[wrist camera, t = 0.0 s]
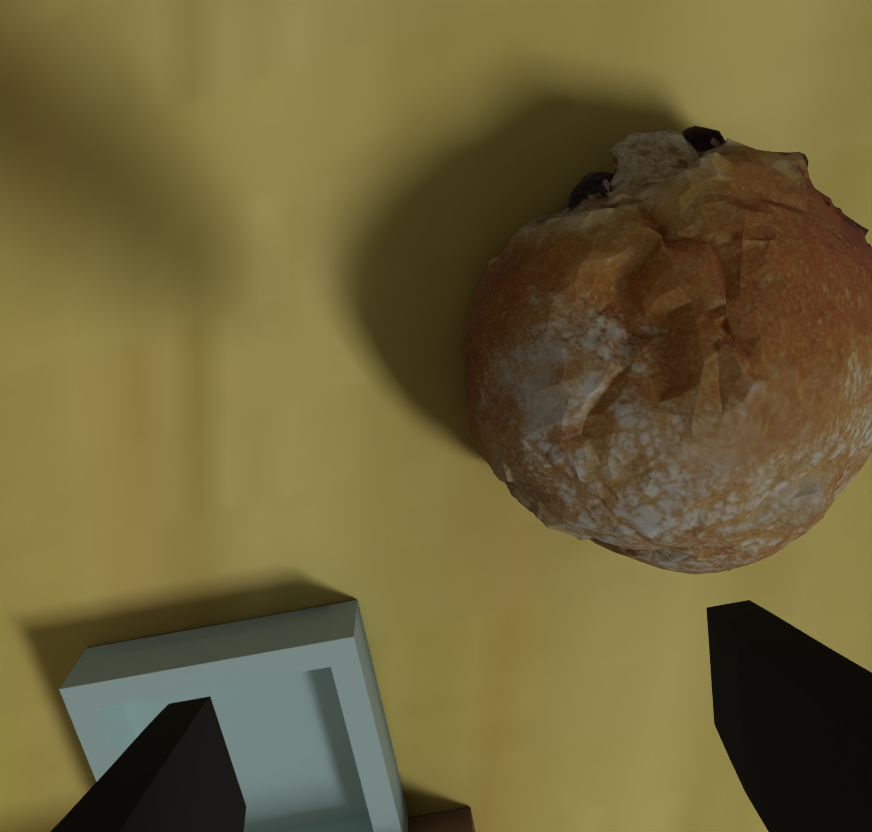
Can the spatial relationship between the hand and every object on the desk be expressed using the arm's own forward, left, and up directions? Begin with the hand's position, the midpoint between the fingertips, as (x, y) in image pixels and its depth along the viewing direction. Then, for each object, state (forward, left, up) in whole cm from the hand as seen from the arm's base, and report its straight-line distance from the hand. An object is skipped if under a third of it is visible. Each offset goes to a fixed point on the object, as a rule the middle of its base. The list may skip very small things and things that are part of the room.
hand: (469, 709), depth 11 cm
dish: (-8, +7, -10) cm, 15 cm away
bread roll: (+2, -6, -10) cm, 12 cm away
